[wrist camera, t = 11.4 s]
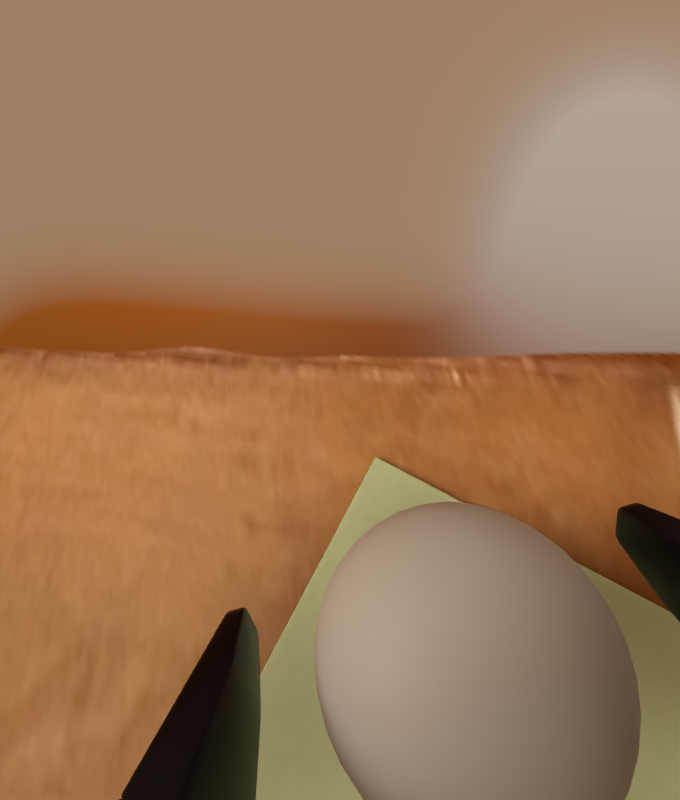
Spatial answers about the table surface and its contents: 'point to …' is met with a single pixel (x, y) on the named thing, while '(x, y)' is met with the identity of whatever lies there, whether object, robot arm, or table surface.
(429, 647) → the lightbulb
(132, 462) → the table surface
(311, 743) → the cloth
